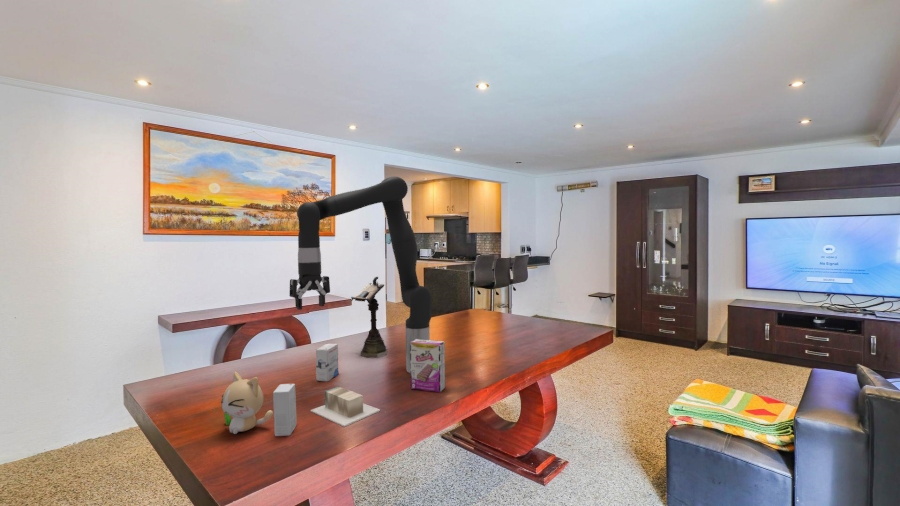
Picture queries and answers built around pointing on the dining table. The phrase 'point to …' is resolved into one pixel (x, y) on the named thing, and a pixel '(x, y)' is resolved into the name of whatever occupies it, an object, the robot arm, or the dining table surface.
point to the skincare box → (284, 409)
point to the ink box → (326, 362)
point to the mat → (341, 418)
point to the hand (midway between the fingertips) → (310, 307)
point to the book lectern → (372, 321)
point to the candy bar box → (427, 365)
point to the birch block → (344, 401)
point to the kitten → (243, 404)
